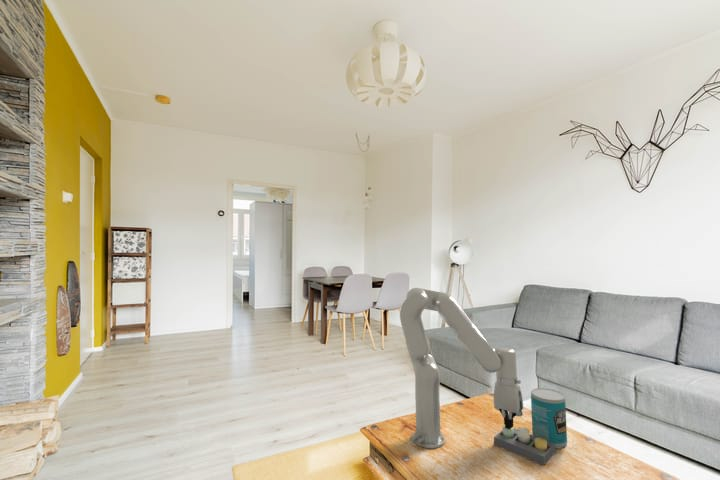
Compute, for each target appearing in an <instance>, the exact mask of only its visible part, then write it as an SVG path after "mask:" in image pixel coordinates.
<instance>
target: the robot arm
mask: <svg viewBox="0 0 720 480" xmlns="http://www.w3.org/2000/svg"><path fill="white" fill-rule="evenodd" d="M424 310H427V311H428V310H429V311H432V312H433V311H434V312H437V313H438V314H439V316H440V317H441V318H442V320H443V321H444V322H445V323H446V324H447V326H448V328H450V330H451V331H452V332H453V334H454V335H455V336H456V338H457V339H458V340H459V341H460V342H461V343H462V344H463V345H464V346H465V347H466V348H467V350H468V351H469V352H470V353H471V355H472V356H473V358H474V360H475V361H476V363H477V364H478V365H479V366H480V367H481V368H482V370H484V371H485V372H487V373H492V374H494V373H496V375H495V376H496V381H495V383H494V388H493V404H494V405H493V406H494V407H493V408H494V409H495V410H497V411H499V412H500V414H501V415H502V418H503V426H504V425H505V428H508V429H509V430H510V429H511V428H512V427H513V428H514V418H515V417H519V418H520V417H522V416H524V414H523V410H524V400H523V395H522V394H523V393H522V390H521V389H522V388H521V386H520V385H521V383H522V382H521V380H520V379H518V374H517V373H518V371H517V352H516V351H515V350H514V349H513V348H510V347H503V346H502V347H501V346H500V347H492V346H491V344H489V343H488V341H487V340H486V338H484V336H483V334H482V333H481V332H480V330H479V328H477V327H476V325H475V323H473V321H472V320H471V319H470V317H469V316H468V315H467V313H466V311H464V310H463V308H462V307H461V306H460V304H459V303H458V301H457V300H456V299H455V298H454V297H453V296H451V295H450V294H448V293H446V292H443V291H437V290H436V291H435V290H431V289H425V288H420V287H414V288H410V289H409V291H407V293H406V299H405V300H404V301H403V303H402V304H401V307H400V310H399V320H400V324H401V328H402V331H403V332H402V333H403V335H404V339H405V345H406V349H407V351H408V353H409V354H408V355H409V357H410V360H411V363H412V368H413V370H414V376H415V377H414V379H415V382H414V383H415V384H414V387H415V389H414V390H415V424H416V425H415V426H416V427H415V431H414V432H413V433H412V436H411V437H409V442H410V443H411V444H416V446H417V445H418V446H419V447H421V448H425V449H438V448H440V447H442V446H443V445H444V444H445V441H446V439H445V436H444V435H443V434H442V433H441V412H440V411H441V405H440V404H441V403H440V387H441V386H440V384H441V374H440V369H439V367H438V365H437V362H436V360H435V357H434V355H433V352H432V348H431V343H430V340H429V337H428V336H427V333H426V331H425V327H424V323H423V320H422V314H423V311H424Z"/></svg>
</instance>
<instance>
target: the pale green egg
mask: <svg viewBox="0 0 720 480" xmlns="http://www.w3.org/2000/svg"><path fill="white" fill-rule="evenodd" d="M514 429H515V428H514V426H513V427H512V428H511V429H510V430H509V429H508V428H505V425H504V424H503V426H502V430H503V436H505V437H508V438H510V439H513V438H514Z"/></svg>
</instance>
